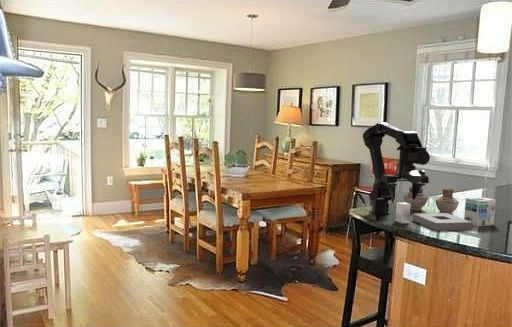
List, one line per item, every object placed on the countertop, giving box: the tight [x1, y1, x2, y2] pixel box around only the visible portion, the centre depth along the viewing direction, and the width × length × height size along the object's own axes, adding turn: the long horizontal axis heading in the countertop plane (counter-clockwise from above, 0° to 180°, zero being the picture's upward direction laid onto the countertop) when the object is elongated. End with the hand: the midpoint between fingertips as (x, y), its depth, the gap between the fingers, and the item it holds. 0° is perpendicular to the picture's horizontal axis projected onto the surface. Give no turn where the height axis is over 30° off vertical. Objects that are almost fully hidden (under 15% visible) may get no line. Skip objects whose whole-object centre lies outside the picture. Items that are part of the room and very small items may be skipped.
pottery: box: [402, 185, 460, 215], centre depth 200 cm, size 11×25×12 cm, turn 49°
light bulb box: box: [463, 196, 497, 227], centre depth 179 cm, size 11×7×11 cm, turn 116°
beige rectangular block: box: [395, 201, 411, 224], centre depth 178 cm, size 4×4×8 cm
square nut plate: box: [412, 212, 473, 231], centre depth 175 cm, size 16×16×3 cm
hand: (403, 199), depth 178 cm, fingers open, 9 cm apart
